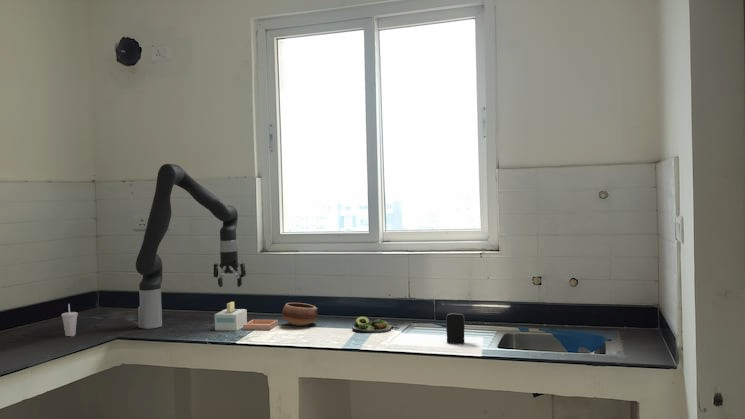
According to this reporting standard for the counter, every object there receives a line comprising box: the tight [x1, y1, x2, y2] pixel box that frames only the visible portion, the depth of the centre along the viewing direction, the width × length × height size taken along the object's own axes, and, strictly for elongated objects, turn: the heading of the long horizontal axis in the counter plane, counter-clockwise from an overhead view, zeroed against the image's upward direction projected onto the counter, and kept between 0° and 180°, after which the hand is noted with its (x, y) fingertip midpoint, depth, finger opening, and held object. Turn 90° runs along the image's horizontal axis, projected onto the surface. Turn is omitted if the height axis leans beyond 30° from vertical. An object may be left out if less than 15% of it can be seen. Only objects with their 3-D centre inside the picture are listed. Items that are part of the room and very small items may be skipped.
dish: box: [242, 319, 279, 331], centre depth 268 cm, size 12×11×2 cm
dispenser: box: [214, 308, 248, 332], centre depth 269 cm, size 10×12×7 cm
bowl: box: [281, 302, 318, 327], centre depth 270 cm, size 16×16×10 cm
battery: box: [445, 312, 466, 345], centre depth 233 cm, size 7×4×11 cm, turn 78°
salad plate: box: [351, 316, 399, 334], centre depth 261 cm, size 19×18×5 cm
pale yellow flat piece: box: [226, 301, 236, 313], centre depth 269 cm, size 1×5×9 cm, turn 170°
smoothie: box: [60, 303, 79, 337], centre depth 261 cm, size 6×6×14 cm
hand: (230, 286), depth 269 cm, fingers open, 8 cm apart
